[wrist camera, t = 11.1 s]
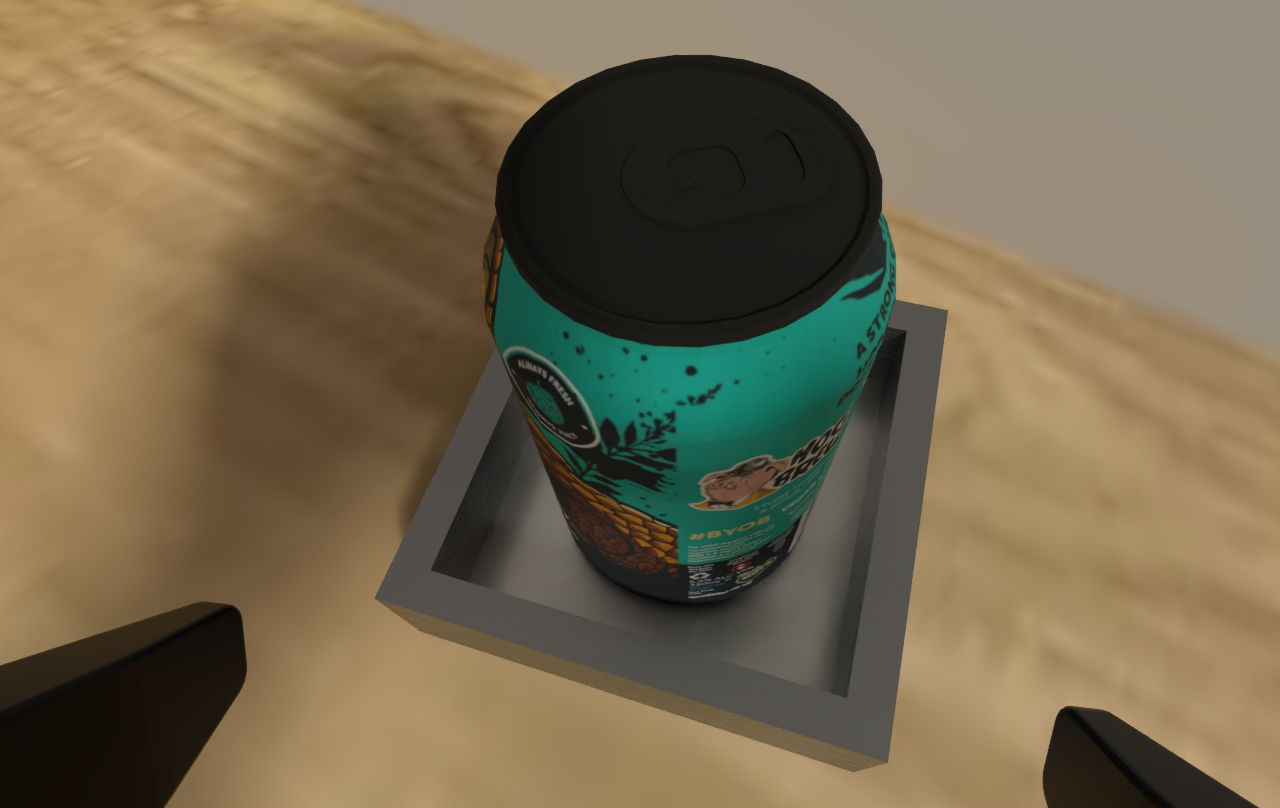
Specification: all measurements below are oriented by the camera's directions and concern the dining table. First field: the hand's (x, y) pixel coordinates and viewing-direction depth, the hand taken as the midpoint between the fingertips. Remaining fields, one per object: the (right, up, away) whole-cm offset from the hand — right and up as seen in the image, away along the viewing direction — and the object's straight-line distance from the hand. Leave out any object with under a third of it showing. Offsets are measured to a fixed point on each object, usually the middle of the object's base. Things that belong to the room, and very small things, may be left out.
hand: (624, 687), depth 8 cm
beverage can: (+1, 0, +13) cm, 14 cm away
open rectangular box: (+2, 0, +14) cm, 14 cm away
